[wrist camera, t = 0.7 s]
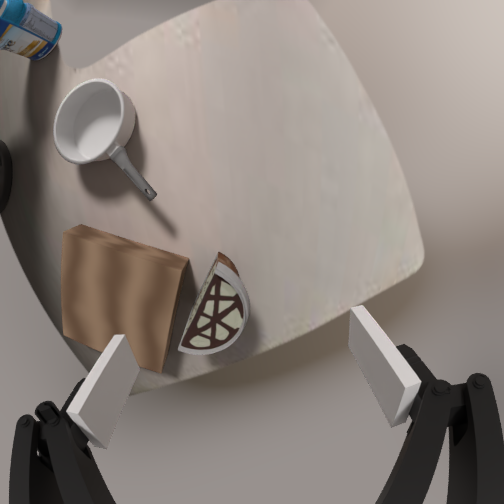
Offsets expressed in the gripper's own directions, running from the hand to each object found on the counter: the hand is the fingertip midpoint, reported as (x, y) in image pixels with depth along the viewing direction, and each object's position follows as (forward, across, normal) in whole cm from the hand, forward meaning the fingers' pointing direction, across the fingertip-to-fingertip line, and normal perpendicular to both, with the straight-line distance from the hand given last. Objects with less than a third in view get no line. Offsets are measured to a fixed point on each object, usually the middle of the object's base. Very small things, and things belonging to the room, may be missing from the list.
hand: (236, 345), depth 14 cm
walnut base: (+23, -19, -6) cm, 31 cm away
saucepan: (+23, -14, +16) cm, 32 cm away
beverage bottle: (+23, -30, +42) cm, 56 cm away
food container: (+24, -3, -7) cm, 25 cm away
